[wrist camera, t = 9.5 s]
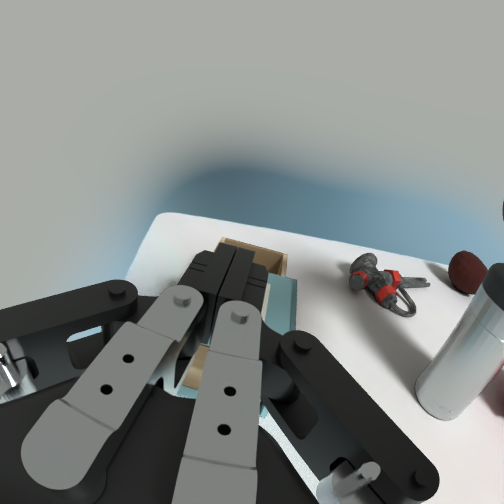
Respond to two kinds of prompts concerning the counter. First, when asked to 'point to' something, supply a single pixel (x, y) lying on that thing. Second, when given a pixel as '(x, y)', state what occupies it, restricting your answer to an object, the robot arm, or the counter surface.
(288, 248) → the counter surface
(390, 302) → the valve
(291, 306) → the sleeve
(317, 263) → the counter surface
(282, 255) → the wooden drawer
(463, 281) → the potato
